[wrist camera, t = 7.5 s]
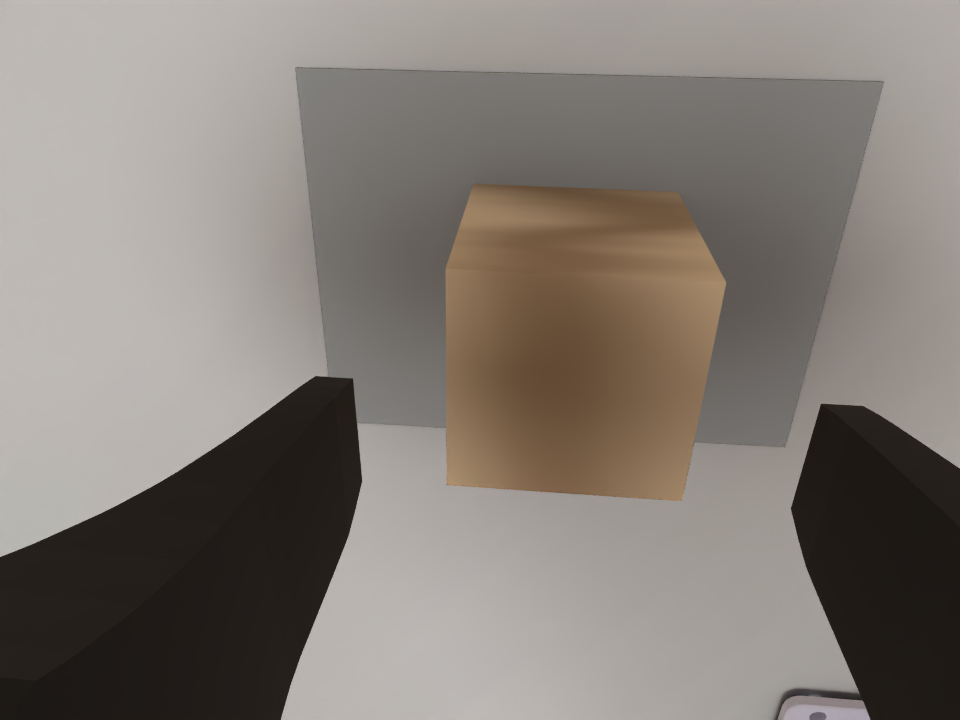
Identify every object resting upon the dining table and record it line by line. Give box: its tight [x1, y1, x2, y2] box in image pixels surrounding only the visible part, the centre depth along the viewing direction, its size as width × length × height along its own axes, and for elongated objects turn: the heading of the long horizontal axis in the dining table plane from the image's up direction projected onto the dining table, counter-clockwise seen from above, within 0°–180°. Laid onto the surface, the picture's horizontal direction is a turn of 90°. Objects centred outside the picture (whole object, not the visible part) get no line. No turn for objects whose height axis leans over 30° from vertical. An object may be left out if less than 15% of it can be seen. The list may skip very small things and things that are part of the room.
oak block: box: [446, 184, 726, 501], centre depth 15 cm, size 4×4×5 cm
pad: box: [295, 68, 884, 447], centre depth 17 cm, size 12×9×1 cm
